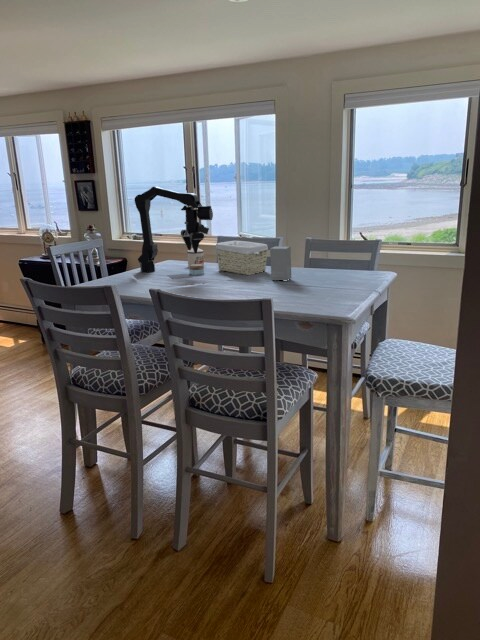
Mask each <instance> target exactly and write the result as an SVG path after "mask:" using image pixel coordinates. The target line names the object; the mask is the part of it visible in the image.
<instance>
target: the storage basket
mask: <svg viewBox="0 0 480 640" xmlns="http://www.w3.org/2000/svg"><path fill="white" fill-rule="evenodd" d="M215 249H216V254H217V265H218V270H219V271H224V272H229V273H234V274H238V275H245V276H252V275H256V274H255V273H257V274H260V273H259V272H262V273H264V272H263V271H265V272H266V269H267V266H266V265H267V259H268V258H267V256H268V250H269V247H268V244H265V243H260V242H253V241H246V240H245V241H244V240H230V241H221V242H217V243H215Z"/></svg>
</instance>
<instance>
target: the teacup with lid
mask: <svg viewBox="0 0 480 640" xmlns="http://www.w3.org/2000/svg"><path fill="white" fill-rule="evenodd" d="M186 251H187V252H186V253H187V267H188V269H190V265H194V264H201V265H204V266H205V264H204V263H205V262H204V261H205V260H206V253H204V250H203V249H201V248H199V247H198V250H197V253H194V250H193V247H191V250H188V249H187V250H186Z"/></svg>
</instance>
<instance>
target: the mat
mask: <svg viewBox="0 0 480 640" xmlns="http://www.w3.org/2000/svg"><path fill="white" fill-rule="evenodd" d="M166 276H167V277H169V278H170V279H172V280H178V279H186V278H187V279H189V278H193V276H192V275H191V274H189V273H177V274H167V275H166Z"/></svg>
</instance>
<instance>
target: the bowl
mask: <svg viewBox="0 0 480 640" xmlns="http://www.w3.org/2000/svg"><path fill="white" fill-rule="evenodd" d="M188 271H189V273H188V275H191V276H192V275H193V276H201V275H204V274H205V268H204V269H201V270H191V269H190V268H188Z"/></svg>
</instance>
